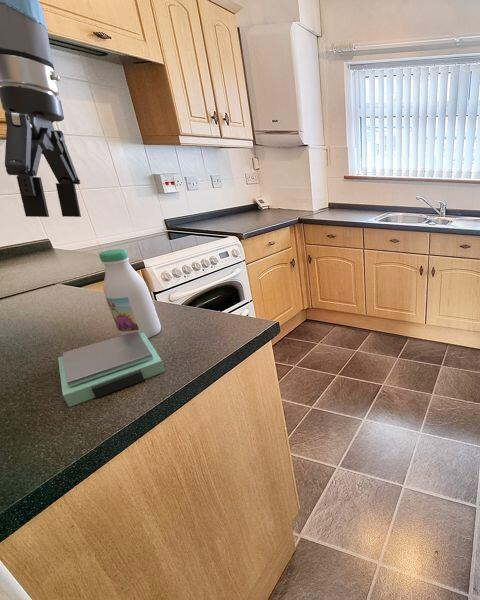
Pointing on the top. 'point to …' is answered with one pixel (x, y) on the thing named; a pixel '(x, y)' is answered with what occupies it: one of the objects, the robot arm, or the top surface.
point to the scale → (110, 378)
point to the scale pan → (104, 357)
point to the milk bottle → (128, 295)
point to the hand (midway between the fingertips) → (56, 216)
